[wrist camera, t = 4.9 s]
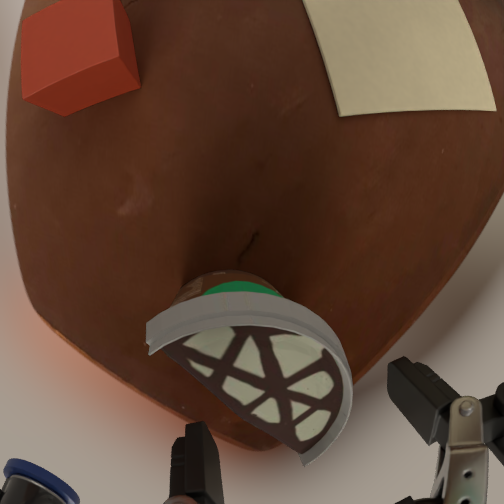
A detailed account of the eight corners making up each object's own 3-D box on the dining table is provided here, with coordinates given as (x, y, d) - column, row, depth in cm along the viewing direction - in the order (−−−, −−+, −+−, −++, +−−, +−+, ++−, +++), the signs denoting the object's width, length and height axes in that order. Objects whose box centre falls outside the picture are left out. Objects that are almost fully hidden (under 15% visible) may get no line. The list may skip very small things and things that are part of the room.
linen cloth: (338, 117, 20) (341, 116, 20) (276, -58, 15) (277, -60, 15) (494, 110, 22) (496, 110, 21) (440, -29, 17) (442, -30, 17)
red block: (64, 117, 17) (21, 100, 11) (57, 50, 16) (22, 20, 10) (141, 88, 18) (119, 55, 12) (130, 21, 16) (111, -21, 10)
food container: (333, 332, 24) (396, 408, 14) (274, 378, 24) (309, 469, 14) (234, 213, 20) (260, 242, 11) (165, 272, 21) (138, 345, 11)
